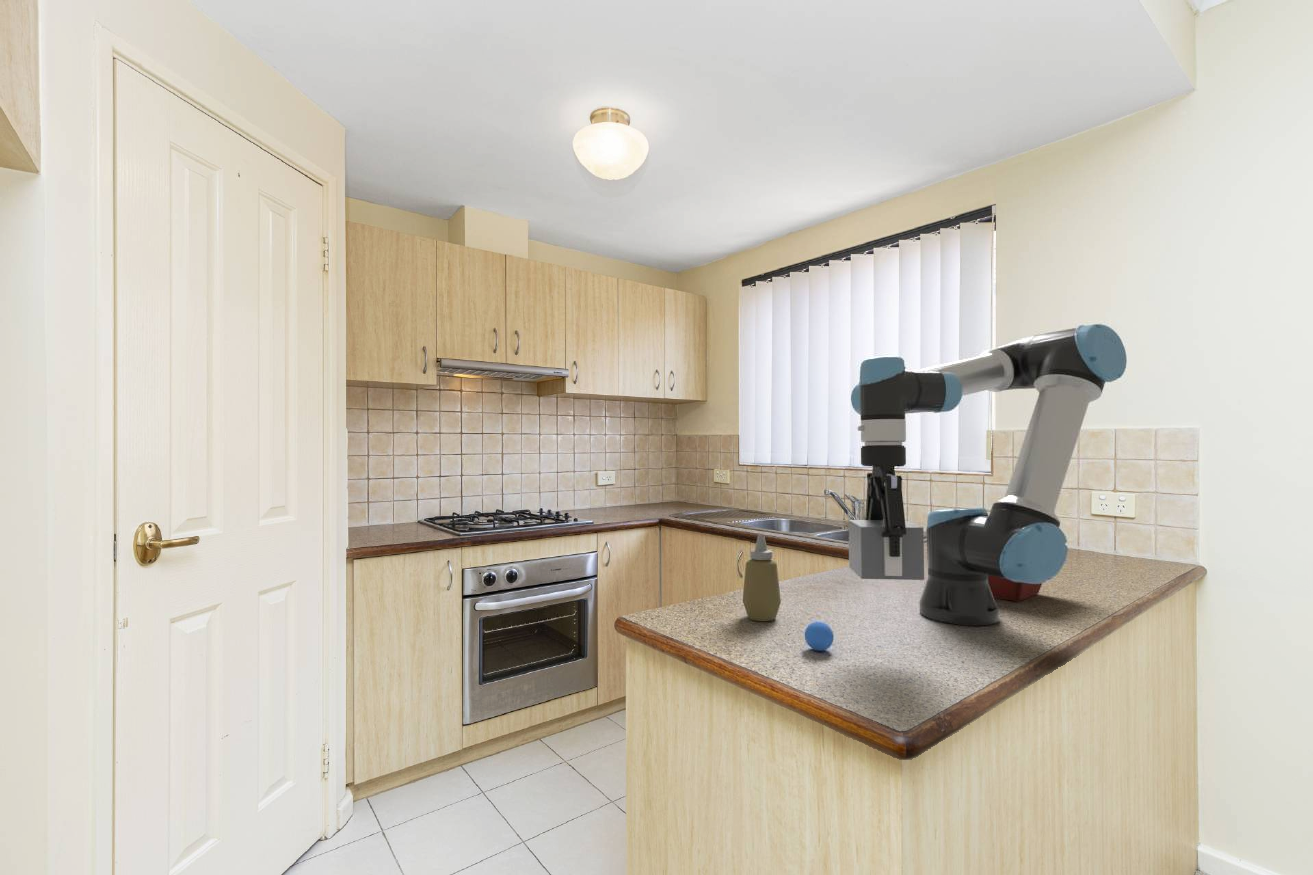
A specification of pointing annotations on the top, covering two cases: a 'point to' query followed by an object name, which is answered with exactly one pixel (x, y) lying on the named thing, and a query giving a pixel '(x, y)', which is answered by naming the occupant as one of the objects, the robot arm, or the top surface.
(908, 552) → the grey cubic block
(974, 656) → the top surface
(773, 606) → the squeeze bottle
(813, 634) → the ball
